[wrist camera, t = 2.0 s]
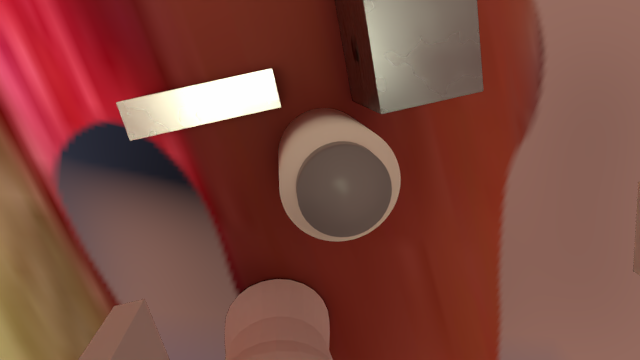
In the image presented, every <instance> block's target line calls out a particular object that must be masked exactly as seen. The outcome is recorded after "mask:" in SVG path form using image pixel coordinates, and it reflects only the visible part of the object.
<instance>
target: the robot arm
mask: <svg viewBox="0 0 640 360" xmlns="http://www.w3.org/2000/svg"><path fill="white" fill-rule="evenodd" d="M633 271H634V272H635V273H637V274H639V275H640V182H638V199H637V214H636V231H635V247H634V265H633ZM79 360H170V359H169V357H168V354H167V352H166V349H165V347H164V345H163V342H162V340H161V337H160V335H159V333H158V330H157V328H156V325H155V323H154V321H153V318H152V315H151V313H150V311H149V309H148V306H147V304H146V301H145V299H142V300H138V301H134V302H129V303H125V304H121V305H117V306H114V307H113V309H112V310H111V312H110V313H109V315H108V316H107V318H106V319H105V321H104V322H103V324H102V325H101V327H100V328H99V330H98V331H97V333H96V334H95V336H94V337H93V339H92V340H91V342H90V343H89V345H88V346H87V348H86V349H85V351H84V352H83V354H82V355H81V357H80V358H79Z"/></svg>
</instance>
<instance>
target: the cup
mask: <svg viewBox="0 0 640 360" xmlns="http://www.w3.org/2000/svg"><path fill="white" fill-rule="evenodd" d="M329 338H330V326H329V316H328V309H327V307H326V305H325V303H324V301H323V299H322V298H321V297H320V296H319V295H318V294H317V293H316V292H315V291H314V290H313V289H311V288H309V287H308V286H306V285H304V284H303V283H299V282H296V281H292V280H285V279H273V280H268V281H262V282H260V283H257V284H255V285H253V286H250V287H248V288H247V289H246V290H245V291H243V292H242V293H241V294H239V295H238V296H237V297H236V299H235V300H234V301H233V303H232V304H231V305H230V307H229V310H228V313H227V315H226V320H225V352H226V357H225V360H333V359H332V356H331V354H330V351H329Z"/></svg>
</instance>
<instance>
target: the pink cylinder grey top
mask: <svg viewBox="0 0 640 360" xmlns="http://www.w3.org/2000/svg"><path fill="white" fill-rule="evenodd" d="M278 163H279V192H280V198H281V201H282V205H283V207H284V209H285V211H286V213H287V215H288V216H289V218H290V219H291V221H292V222H293V223H294V224H295V225H296V226H297V227H298V228H300V229H301V230H302V231H304V232H305V233H307V234H309V235H311V236H313V237H315V238H318V239H321V240H326V241H336V242H337V241H347V240H353V239H356V238H359V237H361V236H364V235H366V234H368V233H369V232H371V231H373V230H374V229H375V228H377V227H378V226H379V225H380V224H381V223H382V222H383V221H384V220H385V219H386V218H387V217H388V216H389V214H390V213H391V211H392V209H393V208H394V206H395V203H396V201H397V198H398V195H399V190H400V181H401V178H400V169H399V165H398V162H397V159H396V157H395V155H394V153H393V151H392V150H391V148H390V147H389V146H388V144H387V143H386V142H385V141H384V140H383V139H382V138H381V137H379V136H378V135H377V134H375V133H374V132H372V131H371V130H370V129H368V128H367V127H365V126H364V125H362V124H361V123H359V122H358V121H357V120H355V119H354V118H352V117H351V116H349V115H348V114H346V113H344V112H342V111H339V110H336V109H332V108H317V109H313V110H309V111H307V112H304V113H302V114H301V115H299V116H297V117H296V118H295V119H294V120H293V121H292V122H291V123H290V124H289V125H288V126H287V128H286V129H285V131H284V132H283V134H282V137H281V139H280V143H279V149H278Z"/></svg>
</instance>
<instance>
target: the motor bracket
mask: <svg viewBox="0 0 640 360" xmlns="http://www.w3.org/2000/svg"><path fill="white" fill-rule="evenodd" d="M335 5H336V11H337V17H338V22H339V28H340V33H341V39H342V45H343V50H344V56H345V62H346V67H347V73H348V79H349V84H350V90H351V95H352V101H354V102H357V103H359V104H361V105H363V106H365V107H367V108H369V109H371V110H373V111H376V112H378V113H380V114H384V113H389V112H393V111H398V110H402V109H406V108H411V107H415V106H420V105H424V104H428V103H433V102H437V101H442V100H446V99H451V98H455V97H459V96H464V95H468V94H473V93H477V92H481V91H483V79H482V65H481V51H480V37H479V23H478V9H477V0H335ZM116 104H117V107H118V109H119V112H120V115H121V117H122V120H123V123H124V126H125V128H126V131H127V134H128V136H129V139H130V141H131V140H136V139H140V138H145V137H149V136H153V135H158V134H162V133H167V132H171V131H176V130H180V129H185V128H189V127H194V126H198V125H203V124H207V123H212V122H216V121H221V120H225V119H230V118H234V117H239V116H243V115H248V114H252V113H257V112H261V111H266V110H270V109H275V108H279V107H281V104H280V98H279V94H278V89H277V85H276V81H275V77H274V72H273V68H269V69H264V70H260V71H255V72H251V73H246V74H241V75H237V76H232V77H228V78H223V79H218V80H214V81H209V82H205V83H200V84H195V85H191V86H186V87H182V88H177V89H172V90H168V91H163V92H159V93H154V94H149V95H145V96H140V97H136V98H132V99H128V100H124V101H120V102H116Z"/></svg>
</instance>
